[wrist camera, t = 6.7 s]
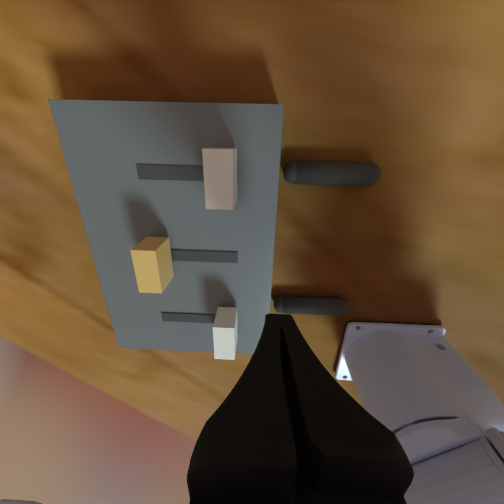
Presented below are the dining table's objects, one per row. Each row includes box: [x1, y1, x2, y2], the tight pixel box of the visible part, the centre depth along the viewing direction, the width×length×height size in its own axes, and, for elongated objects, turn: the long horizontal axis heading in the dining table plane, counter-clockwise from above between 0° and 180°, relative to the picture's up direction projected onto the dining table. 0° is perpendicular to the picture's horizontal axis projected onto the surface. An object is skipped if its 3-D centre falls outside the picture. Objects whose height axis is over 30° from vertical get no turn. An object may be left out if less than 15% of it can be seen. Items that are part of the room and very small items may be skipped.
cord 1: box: [284, 161, 381, 186], centre depth 18 cm, size 7×2×2 cm, turn 89°
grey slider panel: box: [48, 99, 284, 354], centre depth 20 cm, size 14×20×3 cm
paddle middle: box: [130, 236, 174, 293], centre depth 17 cm, size 2×3×2 cm, turn 179°
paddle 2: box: [213, 307, 238, 360], centre depth 19 cm, size 2×3×2 cm, turn 179°
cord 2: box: [274, 296, 348, 316], centre depth 23 cm, size 7×2×2 cm, turn 89°
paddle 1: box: [202, 148, 237, 210], centre depth 14 cm, size 2×3×2 cm, turn 179°
